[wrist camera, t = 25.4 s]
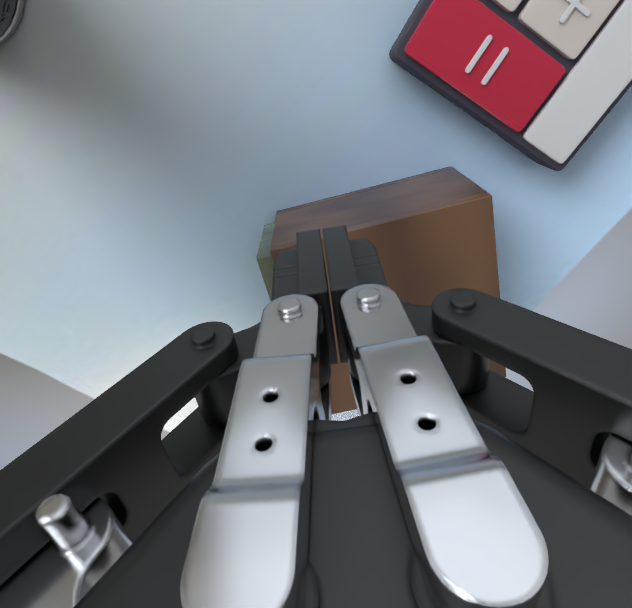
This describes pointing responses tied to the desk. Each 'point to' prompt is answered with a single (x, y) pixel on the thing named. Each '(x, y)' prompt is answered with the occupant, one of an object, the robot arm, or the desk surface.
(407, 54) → the calculator
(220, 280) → the desk surface
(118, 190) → the desk surface
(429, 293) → the cabinet
